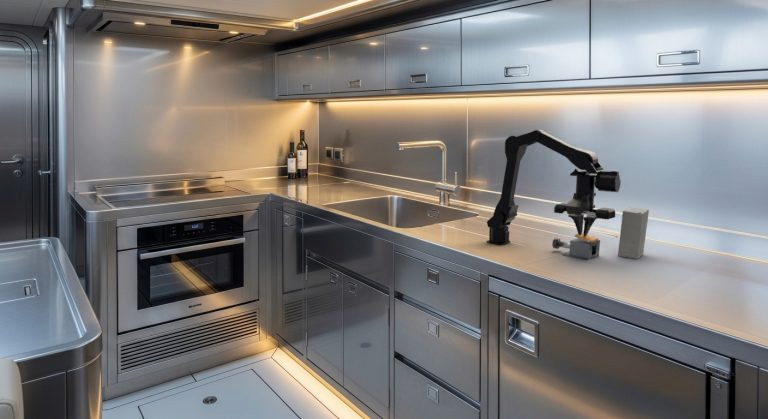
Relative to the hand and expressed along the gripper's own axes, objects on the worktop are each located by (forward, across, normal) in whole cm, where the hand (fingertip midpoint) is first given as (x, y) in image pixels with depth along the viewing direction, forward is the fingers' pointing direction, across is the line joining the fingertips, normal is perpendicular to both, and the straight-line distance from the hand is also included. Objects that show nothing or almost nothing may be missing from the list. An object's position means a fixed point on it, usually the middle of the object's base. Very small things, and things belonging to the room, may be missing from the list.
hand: (582, 236), depth 178 cm
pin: (+6, -4, 0) cm, 7 cm away
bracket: (+7, 0, 0) cm, 7 cm away
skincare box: (+7, +12, +12) cm, 18 cm away
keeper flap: (+1, +1, 0) cm, 1 cm away
